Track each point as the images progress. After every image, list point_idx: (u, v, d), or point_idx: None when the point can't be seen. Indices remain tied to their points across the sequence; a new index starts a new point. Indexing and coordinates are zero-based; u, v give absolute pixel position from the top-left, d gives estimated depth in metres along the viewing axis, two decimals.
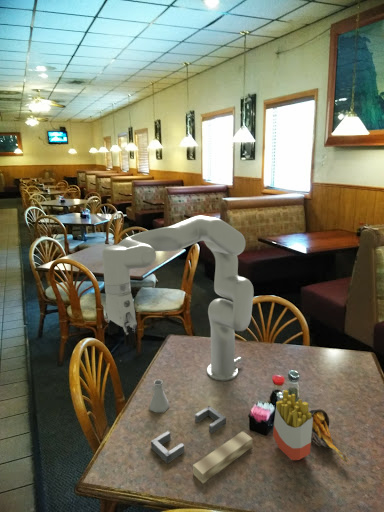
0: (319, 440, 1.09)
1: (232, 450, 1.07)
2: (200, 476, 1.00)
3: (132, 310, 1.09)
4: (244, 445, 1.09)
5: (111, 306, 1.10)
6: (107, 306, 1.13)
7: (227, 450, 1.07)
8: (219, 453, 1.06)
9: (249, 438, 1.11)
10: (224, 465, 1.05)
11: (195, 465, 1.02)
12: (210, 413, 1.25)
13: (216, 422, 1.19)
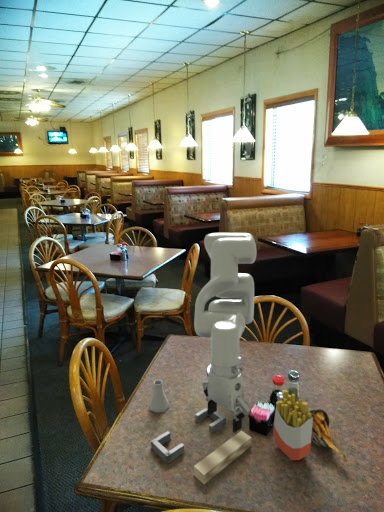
0: (319, 440, 1.09)
1: (232, 450, 1.07)
2: (201, 477, 1.00)
3: (242, 393, 0.98)
4: (243, 444, 1.10)
5: (217, 387, 1.00)
6: (210, 386, 1.02)
7: (227, 450, 1.07)
8: (219, 453, 1.06)
9: (248, 437, 1.12)
10: (224, 465, 1.05)
11: (196, 466, 1.02)
12: None
13: (216, 422, 1.19)
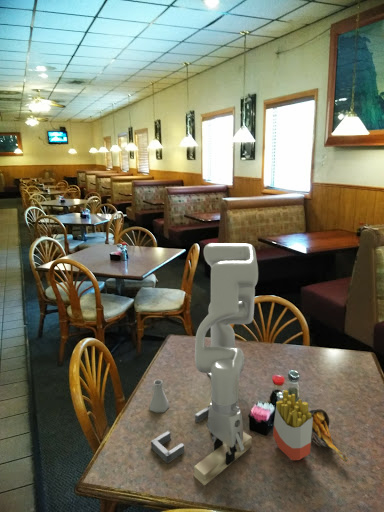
0: (319, 440, 1.09)
1: None
2: (202, 477, 1.00)
3: (241, 429, 1.01)
4: (243, 444, 1.09)
5: (217, 423, 1.03)
6: (210, 420, 1.05)
7: None
8: (219, 453, 1.06)
9: (248, 437, 1.12)
10: (225, 465, 1.05)
11: (196, 466, 1.01)
12: None
13: None
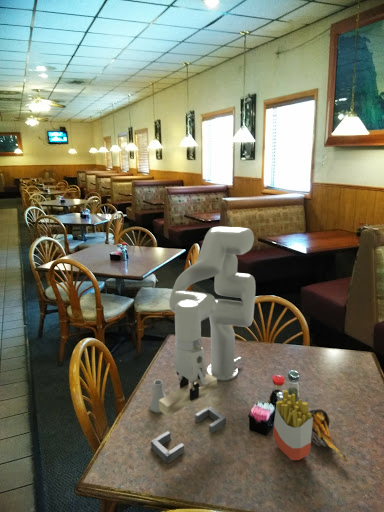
0: (319, 440, 1.09)
1: None
2: (165, 409, 1.06)
3: (203, 365, 1.08)
4: (208, 384, 1.16)
5: (181, 360, 1.09)
6: (176, 359, 1.11)
7: None
8: (184, 390, 1.12)
9: (214, 378, 1.18)
10: (189, 401, 1.11)
11: (161, 400, 1.08)
12: (210, 413, 1.25)
13: (216, 422, 1.19)
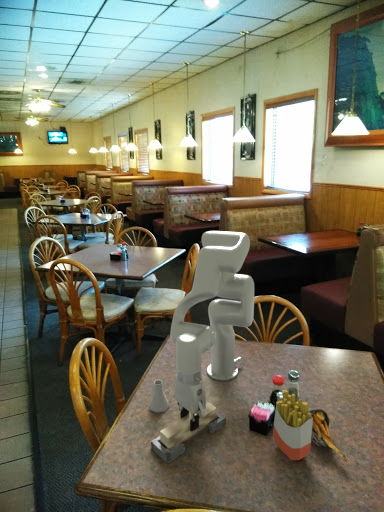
0: (319, 440, 1.09)
1: None
2: (166, 441, 1.09)
3: (203, 397, 1.10)
4: (208, 414, 1.18)
5: (182, 392, 1.12)
6: (176, 391, 1.14)
7: None
8: (184, 421, 1.15)
9: (214, 408, 1.20)
10: (189, 431, 1.14)
11: (162, 431, 1.11)
12: None
13: (216, 422, 1.19)
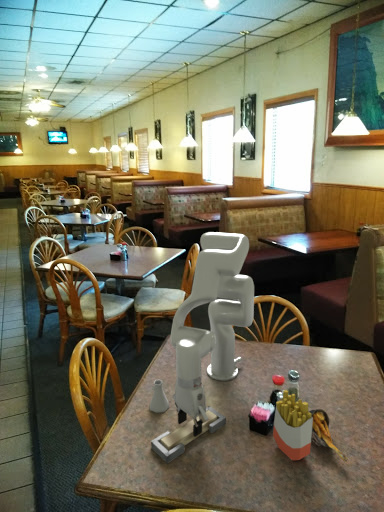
0: (319, 440, 1.09)
1: None
2: (167, 449, 1.10)
3: (204, 402, 1.11)
4: (209, 422, 1.19)
5: (182, 397, 1.12)
6: (177, 395, 1.15)
7: None
8: (185, 429, 1.16)
9: (214, 416, 1.21)
10: (190, 439, 1.15)
11: (162, 439, 1.12)
12: None
13: (216, 422, 1.19)
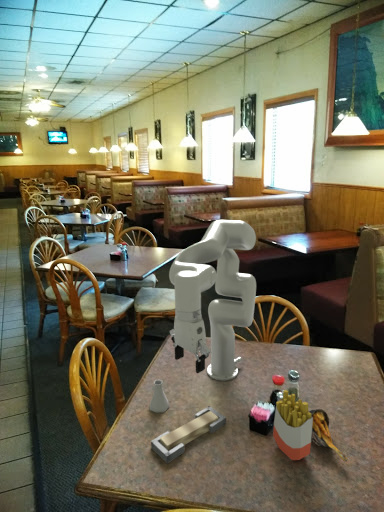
0: (319, 440, 1.09)
1: (197, 427, 1.17)
2: (165, 448, 1.10)
3: (204, 336, 1.07)
4: (209, 423, 1.19)
5: (181, 332, 1.08)
6: (176, 331, 1.10)
7: (193, 426, 1.17)
8: (185, 429, 1.16)
9: (215, 417, 1.21)
10: (189, 439, 1.15)
11: (162, 438, 1.12)
12: None
13: (216, 422, 1.19)
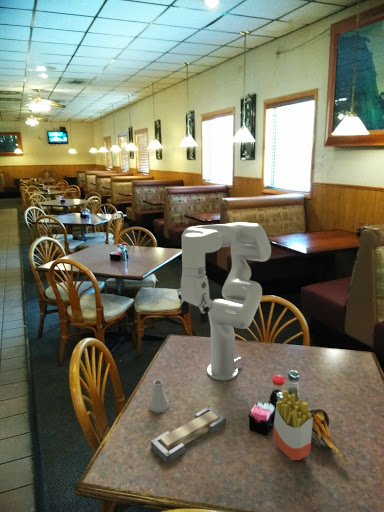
0: (319, 440, 1.09)
1: (198, 426, 1.17)
2: (165, 448, 1.10)
3: (207, 291, 1.20)
4: (209, 422, 1.19)
5: (187, 288, 1.22)
6: (182, 288, 1.24)
7: (193, 426, 1.17)
8: (185, 428, 1.16)
9: (215, 417, 1.21)
10: (189, 439, 1.15)
11: (162, 438, 1.12)
12: None
13: (216, 422, 1.19)
